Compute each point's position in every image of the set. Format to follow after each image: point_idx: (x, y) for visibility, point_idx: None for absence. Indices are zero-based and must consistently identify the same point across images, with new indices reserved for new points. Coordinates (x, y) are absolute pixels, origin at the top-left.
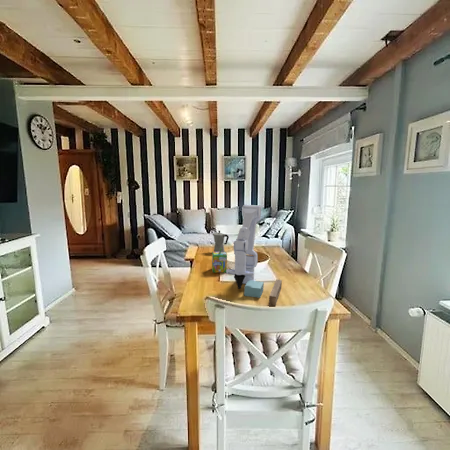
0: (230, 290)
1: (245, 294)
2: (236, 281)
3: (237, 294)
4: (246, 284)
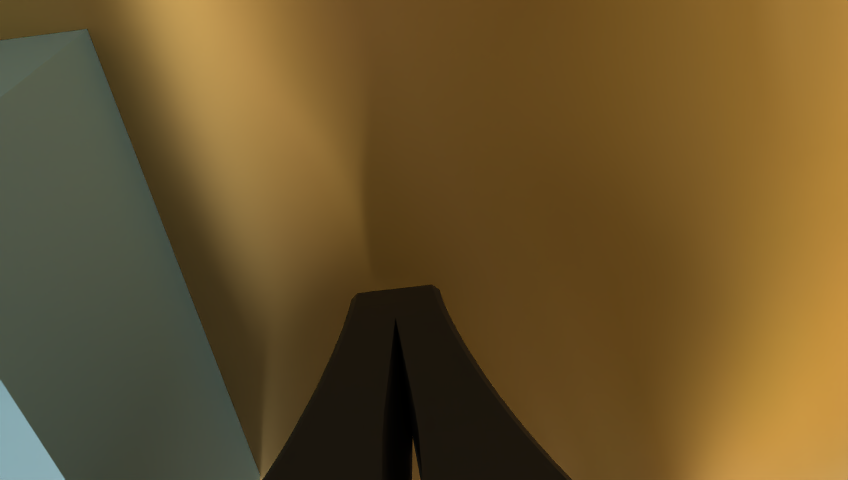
0: (651, 210)
1: (24, 47)
2: (532, 466)
3: (345, 17)
4: (19, 451)
